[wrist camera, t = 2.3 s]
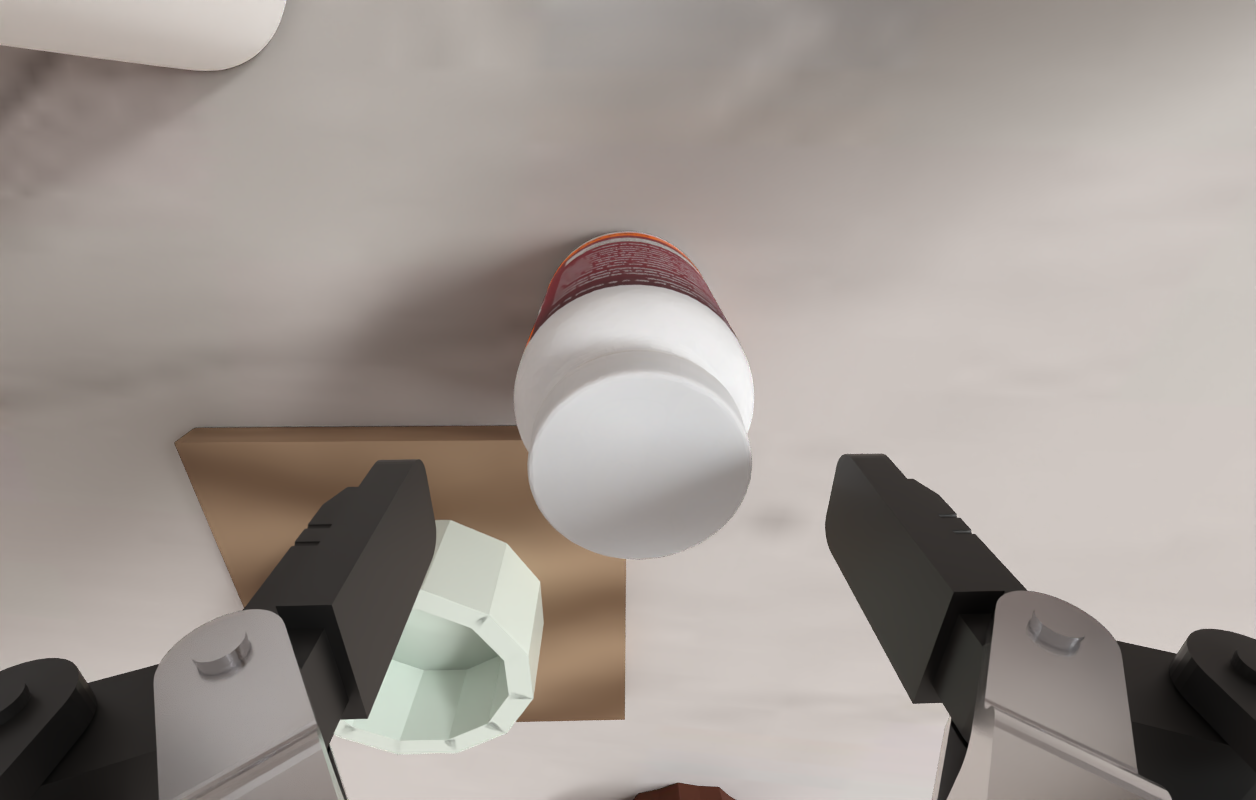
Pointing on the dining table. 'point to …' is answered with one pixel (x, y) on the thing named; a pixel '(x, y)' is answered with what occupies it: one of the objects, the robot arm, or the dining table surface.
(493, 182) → the dining table surface
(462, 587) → the pale green bowl
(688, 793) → the muffin
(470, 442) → the walnut board
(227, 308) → the dining table surface
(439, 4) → the dining table surface
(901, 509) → the robot arm
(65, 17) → the can
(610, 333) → the pill bottle
